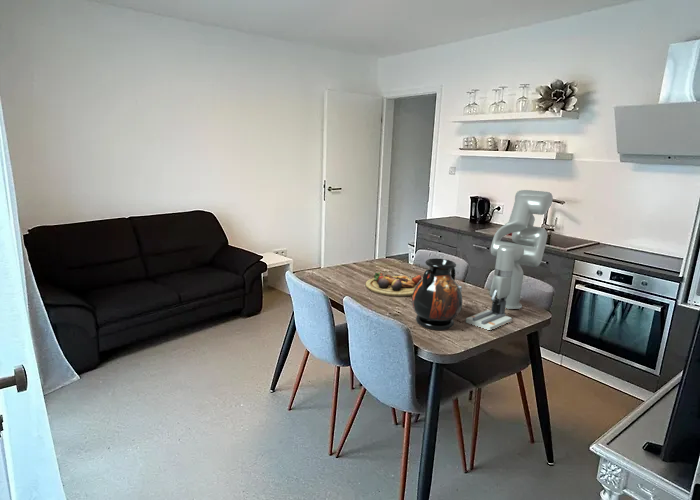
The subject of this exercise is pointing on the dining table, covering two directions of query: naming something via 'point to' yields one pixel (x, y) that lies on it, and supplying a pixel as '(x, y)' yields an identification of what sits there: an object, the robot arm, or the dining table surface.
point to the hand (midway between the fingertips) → (498, 311)
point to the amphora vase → (437, 296)
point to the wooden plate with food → (392, 285)
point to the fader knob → (502, 307)
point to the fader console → (488, 320)
